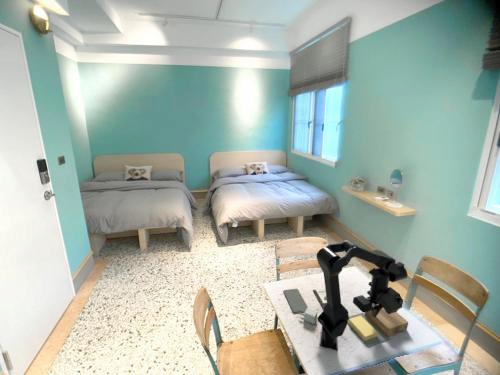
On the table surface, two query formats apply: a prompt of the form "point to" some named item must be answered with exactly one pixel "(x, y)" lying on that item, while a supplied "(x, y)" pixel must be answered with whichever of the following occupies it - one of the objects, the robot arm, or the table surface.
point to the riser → (388, 322)
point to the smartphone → (295, 300)
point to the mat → (380, 336)
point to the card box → (363, 328)
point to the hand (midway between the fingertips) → (374, 316)
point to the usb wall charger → (310, 315)
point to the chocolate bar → (321, 297)
